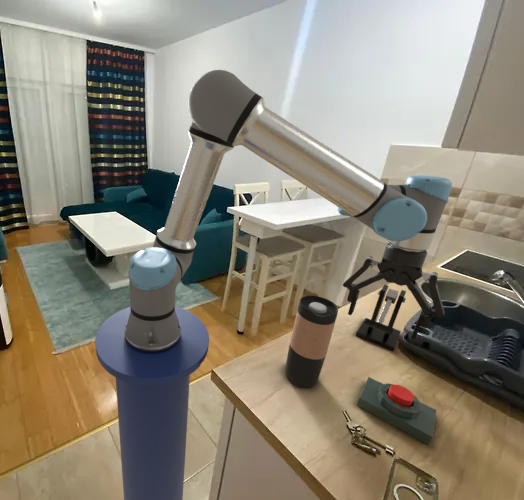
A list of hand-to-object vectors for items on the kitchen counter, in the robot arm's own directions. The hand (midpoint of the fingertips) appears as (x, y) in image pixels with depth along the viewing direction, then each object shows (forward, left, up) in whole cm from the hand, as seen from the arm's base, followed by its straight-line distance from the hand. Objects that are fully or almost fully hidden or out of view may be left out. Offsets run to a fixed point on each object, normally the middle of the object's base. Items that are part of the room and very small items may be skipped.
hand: (380, 323), depth 73 cm
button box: (+8, -17, -9) cm, 21 cm away
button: (+8, -17, -6) cm, 20 cm away
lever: (0, +6, +1) cm, 6 cm away
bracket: (0, +10, -9) cm, 13 cm away
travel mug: (-10, -22, -9) cm, 26 cm away
